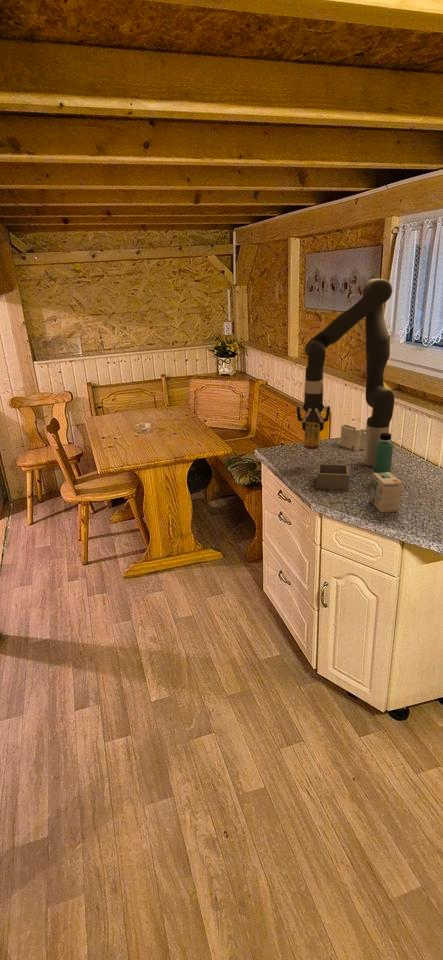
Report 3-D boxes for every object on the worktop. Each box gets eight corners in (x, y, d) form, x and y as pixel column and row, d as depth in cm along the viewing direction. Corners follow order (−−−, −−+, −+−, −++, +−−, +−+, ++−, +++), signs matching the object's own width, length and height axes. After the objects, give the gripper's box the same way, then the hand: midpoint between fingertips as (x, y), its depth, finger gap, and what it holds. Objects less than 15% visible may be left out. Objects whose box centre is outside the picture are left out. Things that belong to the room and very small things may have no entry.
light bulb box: (369, 500, 186) (372, 472, 182) (387, 499, 186) (390, 471, 182) (380, 512, 176) (383, 483, 172) (399, 511, 176) (402, 482, 172)
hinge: (368, 450, 240) (370, 429, 237) (362, 452, 237) (363, 431, 233) (343, 444, 250) (344, 424, 246) (336, 446, 246) (338, 426, 243)
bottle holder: (347, 478, 206) (348, 464, 204) (348, 489, 195) (349, 475, 193) (317, 477, 208) (317, 463, 206) (316, 488, 197) (317, 473, 195)
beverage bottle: (390, 480, 204) (395, 431, 196) (389, 486, 198) (394, 436, 191) (373, 478, 206) (377, 430, 198) (372, 484, 200) (376, 435, 193)
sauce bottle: (302, 449, 215) (303, 403, 208) (305, 445, 221) (306, 399, 213) (318, 450, 213) (319, 404, 206) (321, 446, 218) (322, 400, 211)
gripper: (331, 389, 210) (330, 428, 216) (296, 389, 213) (296, 428, 219) (331, 393, 203) (330, 433, 209) (295, 392, 206) (294, 432, 212)
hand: (312, 430), depth 214 cm, fingers closed on sauce bottle, 6 cm apart
